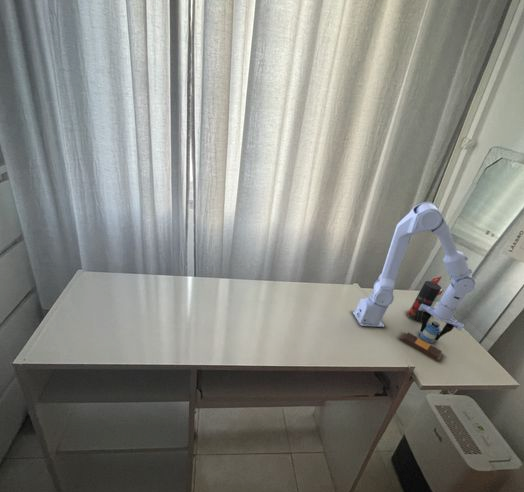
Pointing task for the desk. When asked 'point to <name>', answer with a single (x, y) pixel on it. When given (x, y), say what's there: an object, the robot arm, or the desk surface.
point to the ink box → (438, 293)
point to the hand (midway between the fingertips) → (429, 334)
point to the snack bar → (422, 346)
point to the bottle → (430, 332)
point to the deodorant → (424, 299)
